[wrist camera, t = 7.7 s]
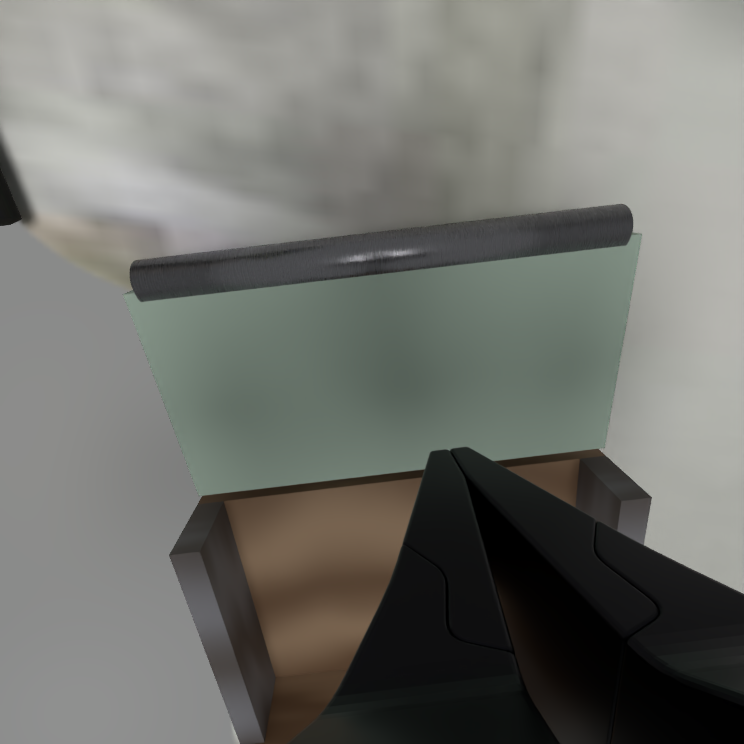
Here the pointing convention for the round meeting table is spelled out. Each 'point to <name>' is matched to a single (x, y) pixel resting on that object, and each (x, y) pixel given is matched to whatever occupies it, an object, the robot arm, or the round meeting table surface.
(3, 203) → the handheld radio
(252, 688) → the brown and grey drawer
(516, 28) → the round meeting table surface
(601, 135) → the round meeting table surface
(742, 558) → the round meeting table surface
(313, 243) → the panel
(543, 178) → the round meeting table surface
